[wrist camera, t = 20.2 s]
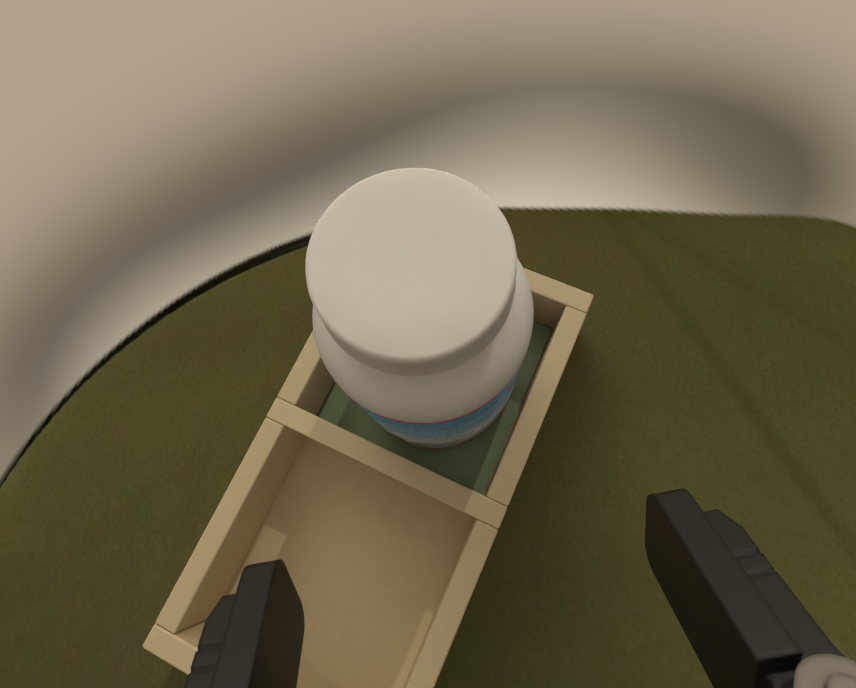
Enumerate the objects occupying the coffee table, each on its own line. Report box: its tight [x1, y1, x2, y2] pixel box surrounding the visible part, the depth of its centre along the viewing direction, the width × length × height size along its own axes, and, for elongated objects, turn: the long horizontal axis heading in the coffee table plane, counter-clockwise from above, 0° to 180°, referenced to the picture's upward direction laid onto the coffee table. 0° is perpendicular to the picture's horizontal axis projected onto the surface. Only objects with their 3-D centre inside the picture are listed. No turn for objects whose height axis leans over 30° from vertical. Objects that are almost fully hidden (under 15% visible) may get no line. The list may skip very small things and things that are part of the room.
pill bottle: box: [305, 168, 534, 449], centre depth 17 cm, size 6×6×11 cm
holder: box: [143, 268, 594, 688], centre depth 20 cm, size 17×9×4 cm, turn 155°
